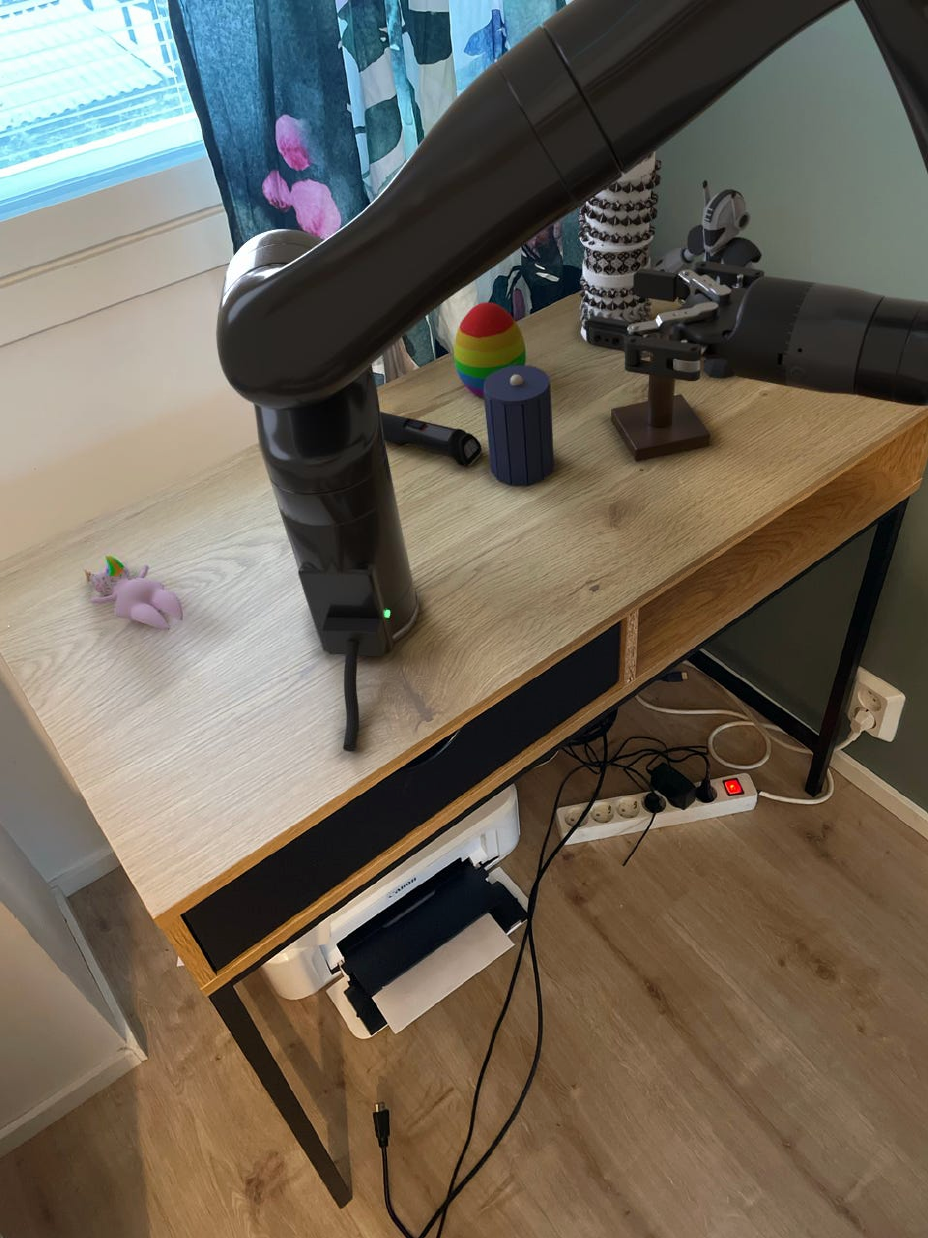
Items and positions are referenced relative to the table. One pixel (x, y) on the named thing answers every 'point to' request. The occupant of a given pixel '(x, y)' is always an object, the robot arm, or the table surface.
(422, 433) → the electric trimmer
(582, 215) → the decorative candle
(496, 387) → the slatted storage jar
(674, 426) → the hat peg
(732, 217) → the robot
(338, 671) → the table surface
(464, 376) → the decorative egg
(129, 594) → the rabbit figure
